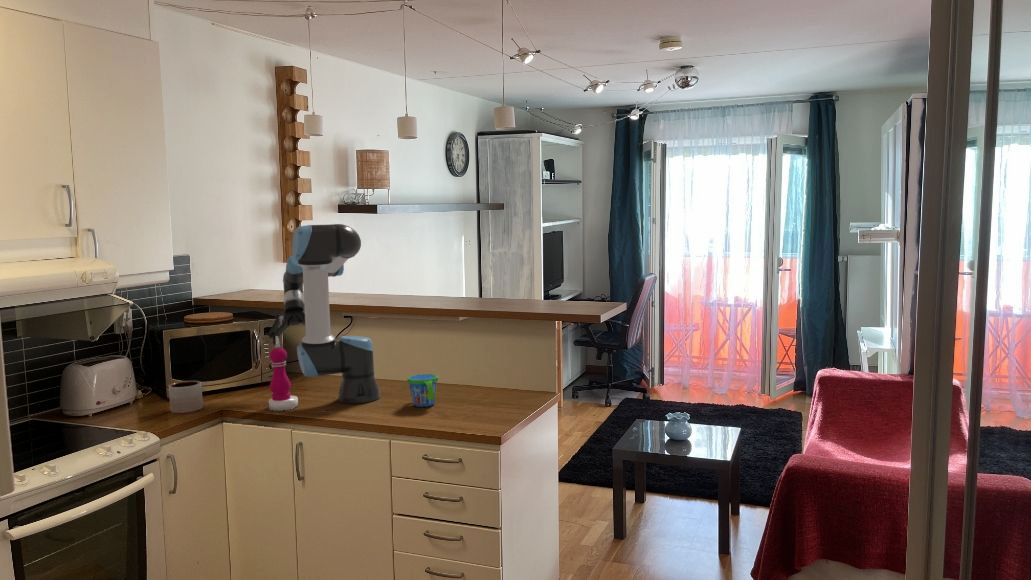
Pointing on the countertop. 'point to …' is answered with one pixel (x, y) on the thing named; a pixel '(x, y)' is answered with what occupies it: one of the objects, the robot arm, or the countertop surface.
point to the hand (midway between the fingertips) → (296, 349)
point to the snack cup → (423, 389)
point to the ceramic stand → (283, 404)
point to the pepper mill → (279, 375)
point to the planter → (185, 396)
